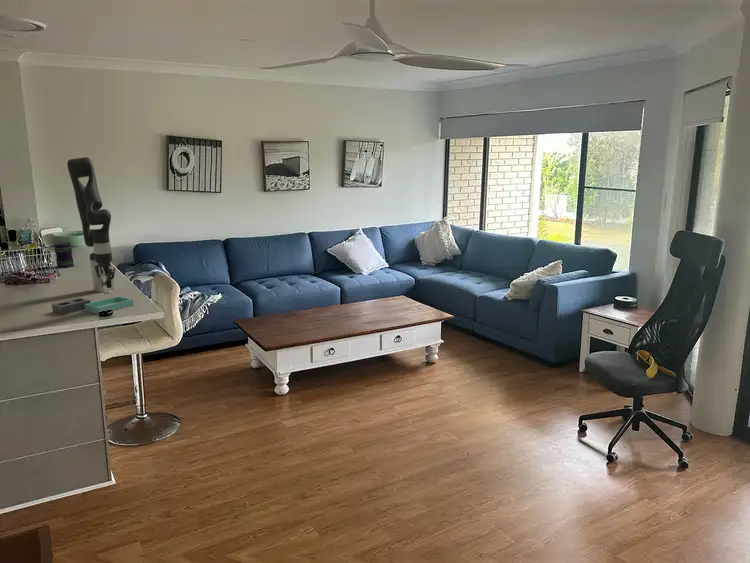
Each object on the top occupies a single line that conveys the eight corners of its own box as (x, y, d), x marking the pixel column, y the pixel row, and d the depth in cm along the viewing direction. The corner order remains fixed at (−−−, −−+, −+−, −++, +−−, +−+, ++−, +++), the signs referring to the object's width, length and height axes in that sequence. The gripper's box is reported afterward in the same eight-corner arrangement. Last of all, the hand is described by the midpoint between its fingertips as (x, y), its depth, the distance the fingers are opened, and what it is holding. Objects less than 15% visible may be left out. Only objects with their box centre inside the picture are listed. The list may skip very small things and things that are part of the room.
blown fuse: (108, 292, 292) (106, 271, 289) (112, 293, 290) (110, 272, 288) (102, 293, 289) (99, 273, 287) (106, 294, 287) (103, 274, 285)
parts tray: (119, 302, 302) (118, 296, 301) (133, 305, 295) (133, 299, 295) (85, 310, 287) (84, 304, 287) (99, 314, 281) (98, 308, 280)
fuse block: (80, 305, 296) (79, 297, 296) (91, 308, 292) (90, 300, 291) (52, 312, 285) (51, 304, 284) (63, 315, 280) (61, 306, 279)
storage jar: (57, 266, 391) (54, 243, 387) (74, 264, 395) (71, 242, 391) (56, 268, 382) (53, 245, 378) (73, 267, 386) (70, 244, 382)
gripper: (118, 252, 284) (122, 287, 288) (101, 249, 292) (105, 284, 296) (104, 254, 278) (108, 290, 282) (86, 251, 286) (91, 287, 290)
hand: (106, 287), depth 289 cm, fingers closed on blown fuse, 3 cm apart
